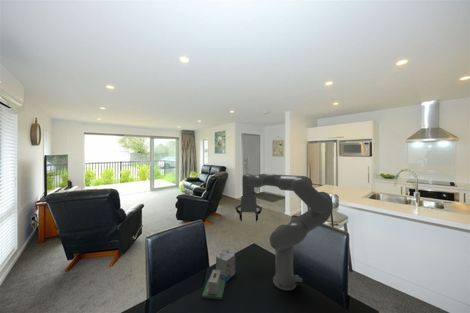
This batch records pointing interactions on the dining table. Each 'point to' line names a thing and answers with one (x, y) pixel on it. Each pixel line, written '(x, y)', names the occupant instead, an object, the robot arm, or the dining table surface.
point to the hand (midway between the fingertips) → (248, 220)
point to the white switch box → (214, 282)
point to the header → (219, 293)
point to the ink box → (226, 264)
